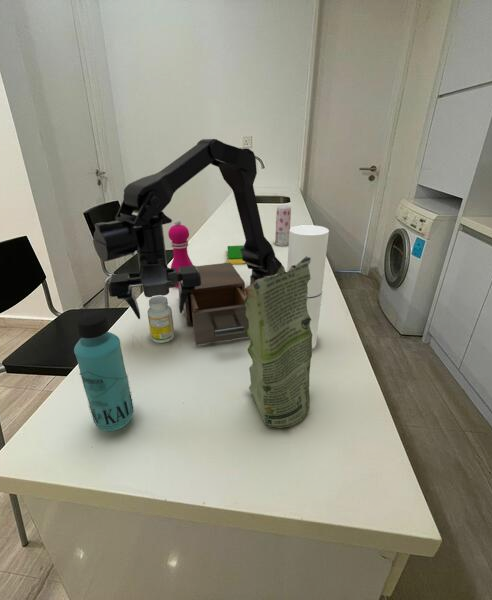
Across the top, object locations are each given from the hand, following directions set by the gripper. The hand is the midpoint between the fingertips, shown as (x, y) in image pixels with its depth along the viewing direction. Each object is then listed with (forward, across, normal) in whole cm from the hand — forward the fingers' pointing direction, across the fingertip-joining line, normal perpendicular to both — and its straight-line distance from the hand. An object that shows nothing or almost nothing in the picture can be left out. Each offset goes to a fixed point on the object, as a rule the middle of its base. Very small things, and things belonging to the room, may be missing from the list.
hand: (160, 315), depth 74 cm
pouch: (+6, +18, -26) cm, 32 cm away
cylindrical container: (+6, +29, -10) cm, 32 cm away
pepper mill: (+6, +8, +29) cm, 30 cm away
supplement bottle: (+6, 0, 0) cm, 6 cm away
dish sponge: (+6, +30, +47) cm, 56 cm away
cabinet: (+6, +13, +10) cm, 18 cm away
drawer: (+5, +13, -2) cm, 14 cm away
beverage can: (+6, +52, +57) cm, 77 cm away
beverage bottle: (+6, -9, -24) cm, 26 cm away
